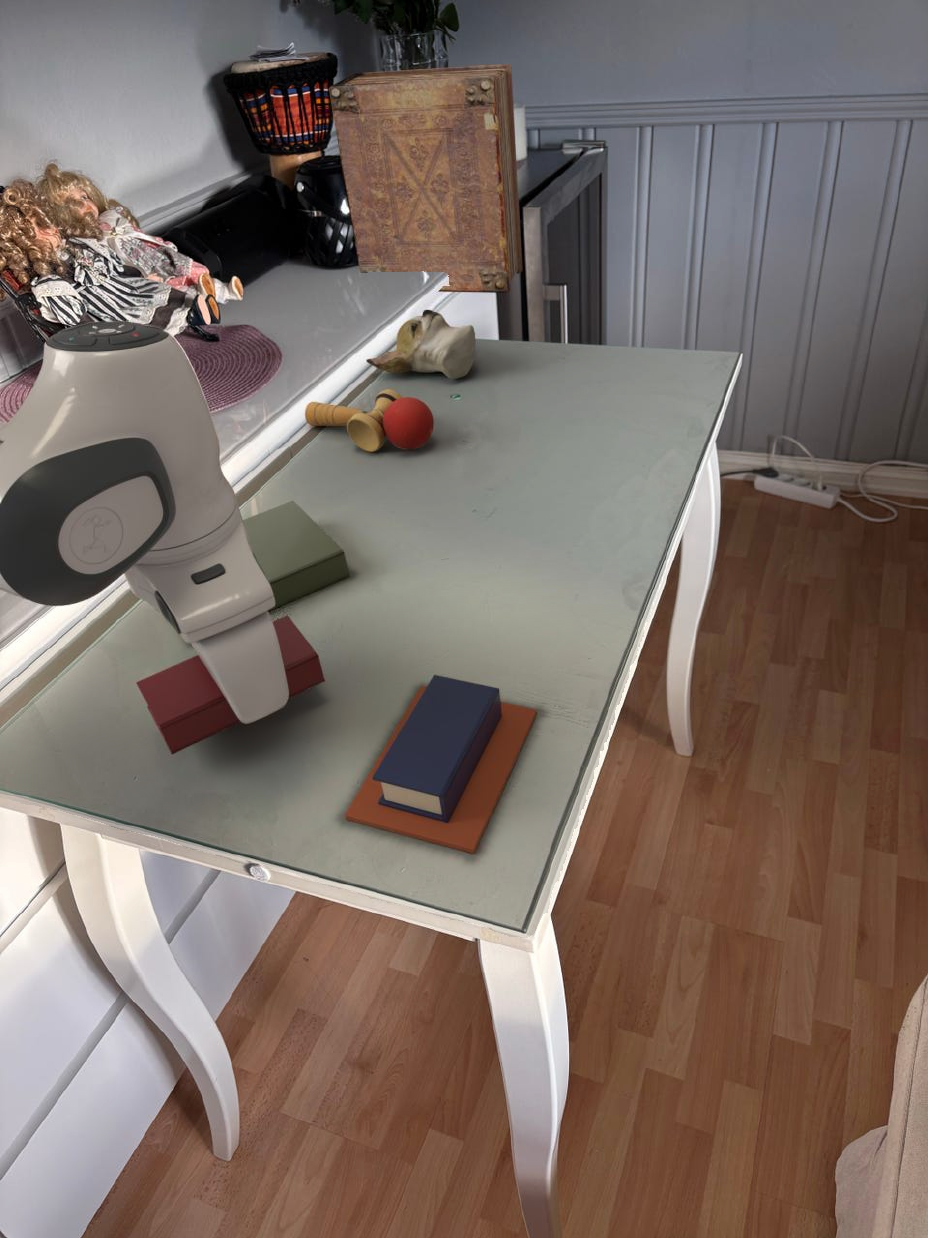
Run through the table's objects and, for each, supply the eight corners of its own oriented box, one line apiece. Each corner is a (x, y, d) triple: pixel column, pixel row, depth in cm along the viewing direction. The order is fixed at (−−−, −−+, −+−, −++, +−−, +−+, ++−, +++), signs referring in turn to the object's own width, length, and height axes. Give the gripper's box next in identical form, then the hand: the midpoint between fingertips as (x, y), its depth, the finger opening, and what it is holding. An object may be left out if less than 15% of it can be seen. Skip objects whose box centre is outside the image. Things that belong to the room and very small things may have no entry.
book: (524, 272, 151) (513, 63, 132) (509, 293, 144) (495, 75, 125) (382, 271, 158) (352, 72, 139) (362, 290, 151) (328, 85, 132)
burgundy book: (171, 754, 69) (159, 728, 67) (147, 708, 73) (136, 682, 71) (325, 681, 74) (318, 654, 72) (294, 641, 78) (287, 615, 76)
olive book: (194, 643, 83) (185, 618, 81) (154, 582, 91) (145, 558, 89) (349, 576, 89) (344, 550, 87) (299, 524, 97) (293, 500, 95)
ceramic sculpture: (447, 328, 112) (354, 320, 119) (457, 394, 117) (367, 382, 125) (492, 298, 118) (401, 292, 126) (500, 362, 124) (412, 353, 131)
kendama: (295, 450, 113) (411, 460, 103) (285, 399, 110) (403, 404, 100) (336, 433, 118) (450, 440, 109) (327, 384, 115) (443, 387, 106)
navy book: (448, 823, 64) (443, 795, 62) (378, 804, 66) (372, 777, 64) (502, 715, 72) (499, 688, 70) (438, 701, 73) (434, 674, 72)
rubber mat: (474, 854, 62) (473, 849, 62) (345, 819, 66) (344, 815, 65) (537, 713, 72) (536, 709, 72) (422, 689, 75) (421, 685, 75)
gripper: (102, 504, 70) (158, 639, 79) (188, 640, 56) (244, 787, 65) (180, 475, 72) (226, 610, 81) (282, 599, 58) (324, 746, 67)
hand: (235, 690), depth 73 cm, fingers closed on burgundy book, 5 cm apart
